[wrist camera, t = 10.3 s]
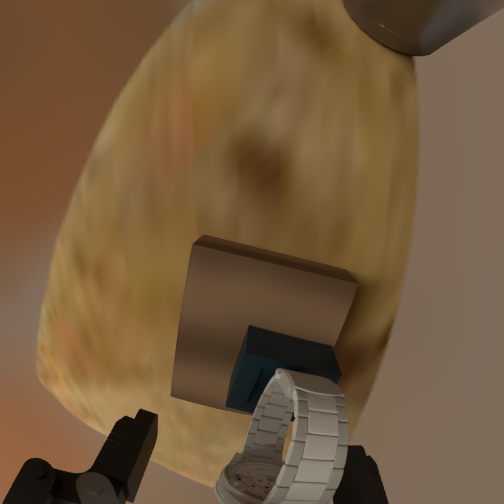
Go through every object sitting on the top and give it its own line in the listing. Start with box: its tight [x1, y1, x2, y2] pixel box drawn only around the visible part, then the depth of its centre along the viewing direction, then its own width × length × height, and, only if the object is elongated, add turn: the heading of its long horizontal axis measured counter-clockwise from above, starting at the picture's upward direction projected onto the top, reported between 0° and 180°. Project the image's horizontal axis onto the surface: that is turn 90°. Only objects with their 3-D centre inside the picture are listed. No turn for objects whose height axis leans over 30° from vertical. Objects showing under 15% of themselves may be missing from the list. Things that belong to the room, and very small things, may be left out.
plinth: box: [171, 235, 359, 416], centre depth 19 cm, size 12×10×3 cm
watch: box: [214, 325, 349, 504], centre depth 12 cm, size 6×8×11 cm
